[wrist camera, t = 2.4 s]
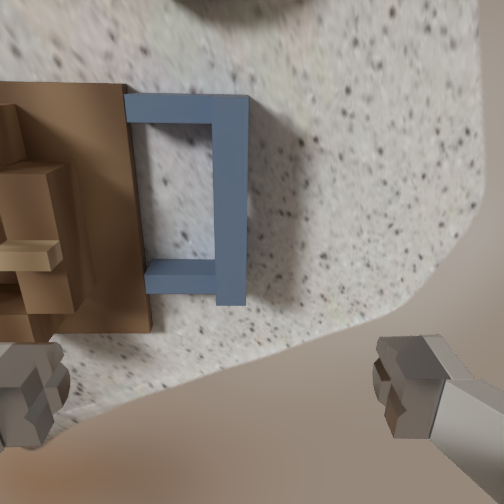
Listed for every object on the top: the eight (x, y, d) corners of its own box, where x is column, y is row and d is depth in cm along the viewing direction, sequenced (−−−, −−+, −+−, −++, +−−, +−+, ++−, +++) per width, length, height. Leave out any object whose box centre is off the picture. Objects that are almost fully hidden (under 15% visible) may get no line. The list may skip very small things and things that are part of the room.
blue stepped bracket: (153, 276, 29) (141, 305, 25) (135, 92, 24) (115, 95, 20) (245, 277, 29) (245, 305, 26) (247, 94, 24) (248, 97, 20)
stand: (-37, 325, 30) (-105, 386, 24) (-125, 79, 23) (-254, 79, 17) (152, 325, 31) (131, 385, 25) (126, 83, 23) (86, 85, 17)
